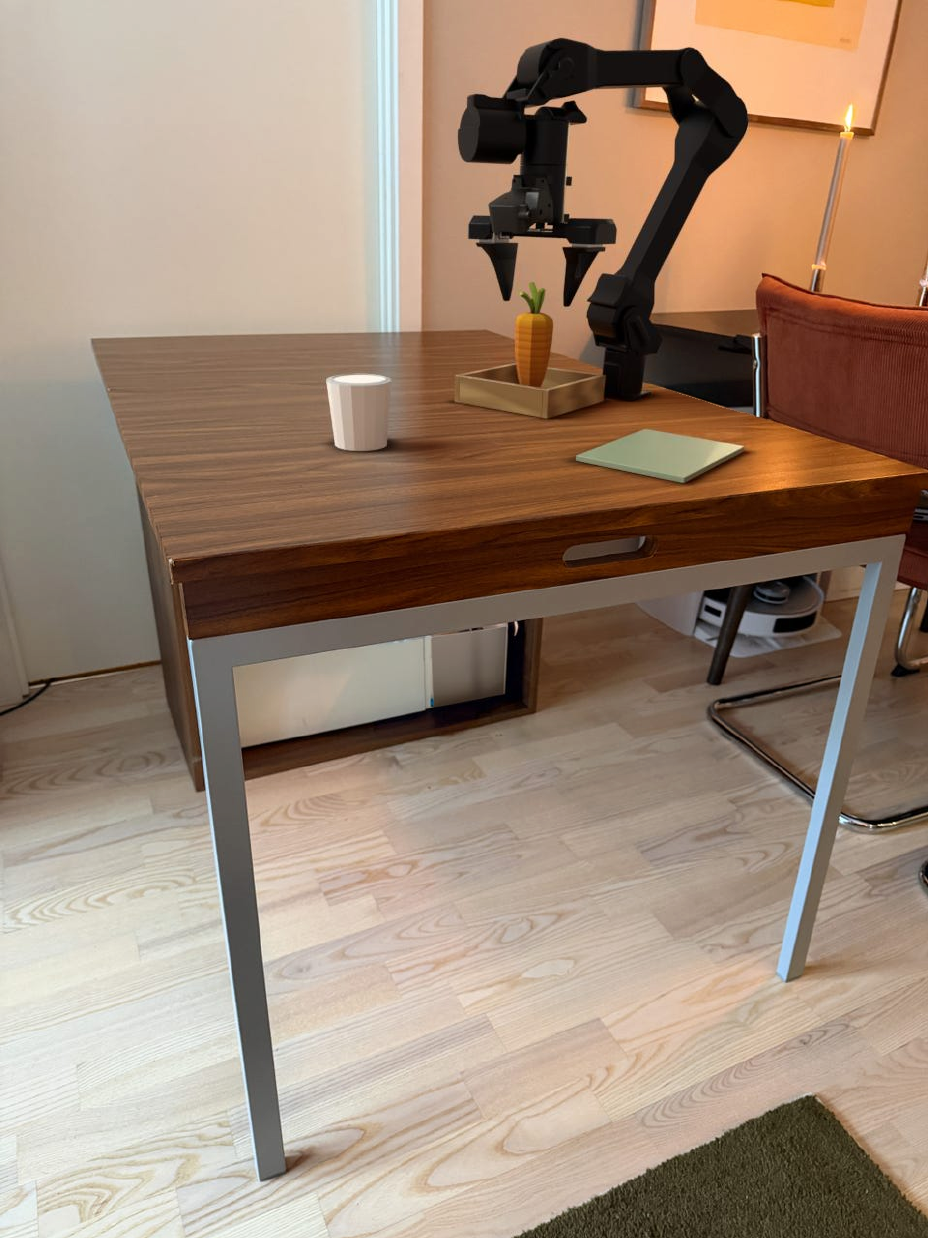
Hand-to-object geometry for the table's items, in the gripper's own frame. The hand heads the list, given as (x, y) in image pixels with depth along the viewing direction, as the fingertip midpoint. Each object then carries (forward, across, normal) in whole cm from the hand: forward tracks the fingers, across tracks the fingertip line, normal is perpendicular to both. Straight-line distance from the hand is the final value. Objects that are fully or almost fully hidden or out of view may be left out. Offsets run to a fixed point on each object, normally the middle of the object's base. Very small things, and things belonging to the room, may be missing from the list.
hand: (535, 303), depth 108 cm
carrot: (+13, 0, 0) cm, 13 cm away
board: (+12, +26, -14) cm, 32 cm away
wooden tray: (+12, 0, 0) cm, 13 cm away
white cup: (+13, -1, -32) cm, 35 cm away
